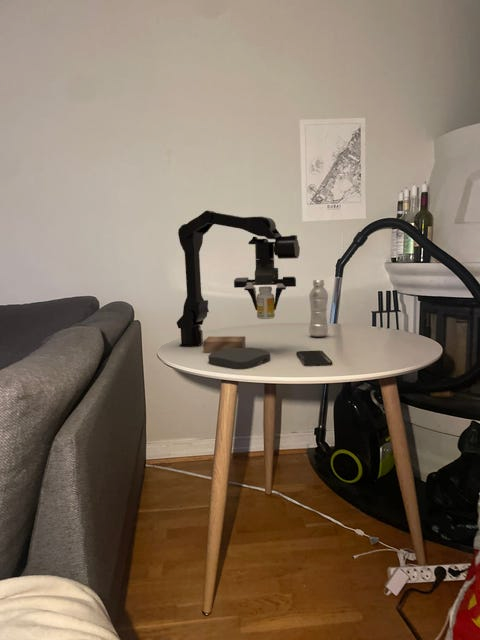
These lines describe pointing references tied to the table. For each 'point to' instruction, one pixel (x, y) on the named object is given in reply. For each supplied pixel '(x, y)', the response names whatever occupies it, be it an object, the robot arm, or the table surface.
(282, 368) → the table surface
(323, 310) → the plastic bottle
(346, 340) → the table surface
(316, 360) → the phone
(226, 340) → the block
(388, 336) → the table surface
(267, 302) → the supplement bottle
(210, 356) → the media streaming box
